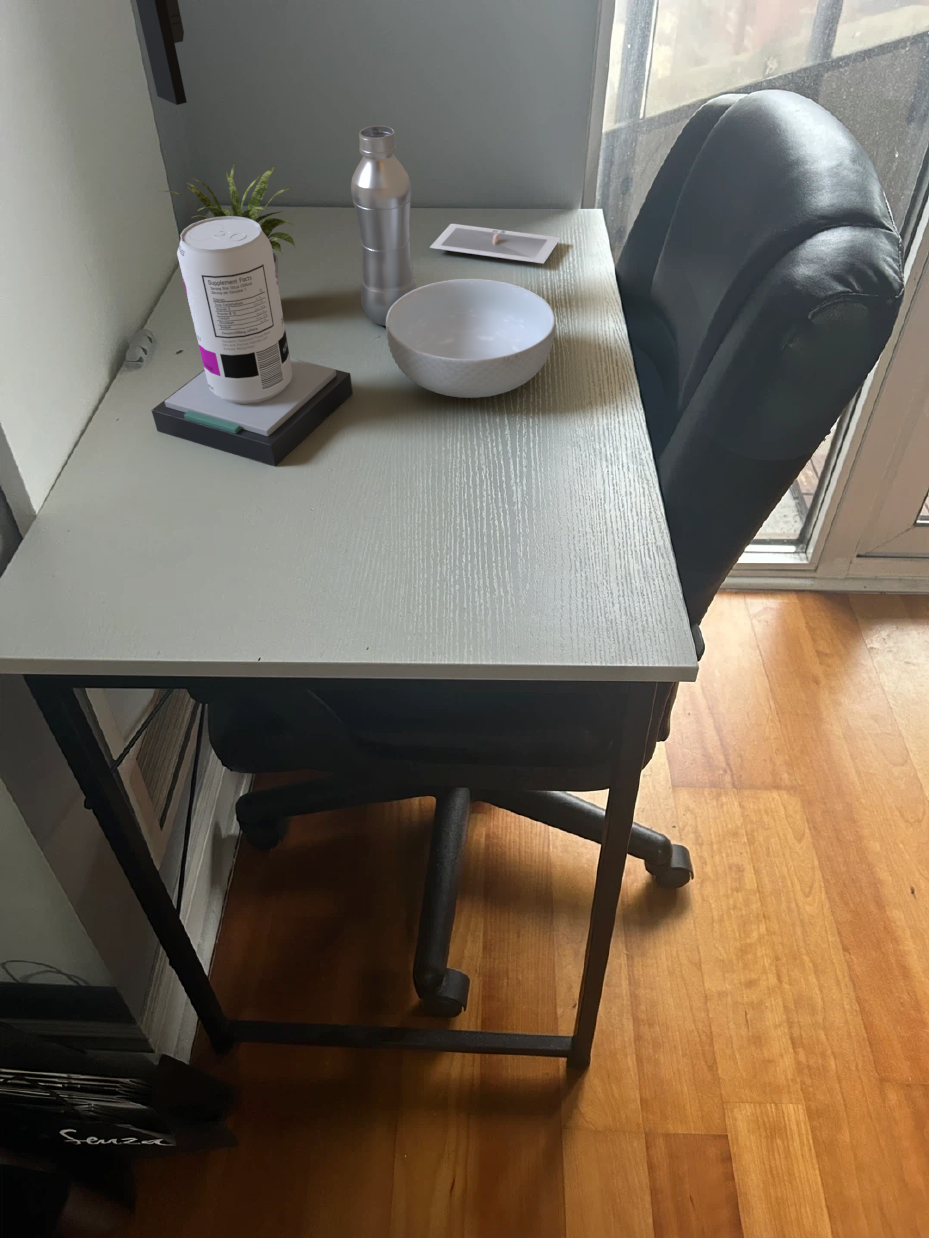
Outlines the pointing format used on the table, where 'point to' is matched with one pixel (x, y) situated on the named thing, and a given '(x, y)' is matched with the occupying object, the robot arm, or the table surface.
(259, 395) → the supplement can
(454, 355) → the cereal bowl
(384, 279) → the silver metal bottle
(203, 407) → the scale
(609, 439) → the table surface
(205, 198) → the house plant
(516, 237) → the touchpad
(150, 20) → the robot arm
